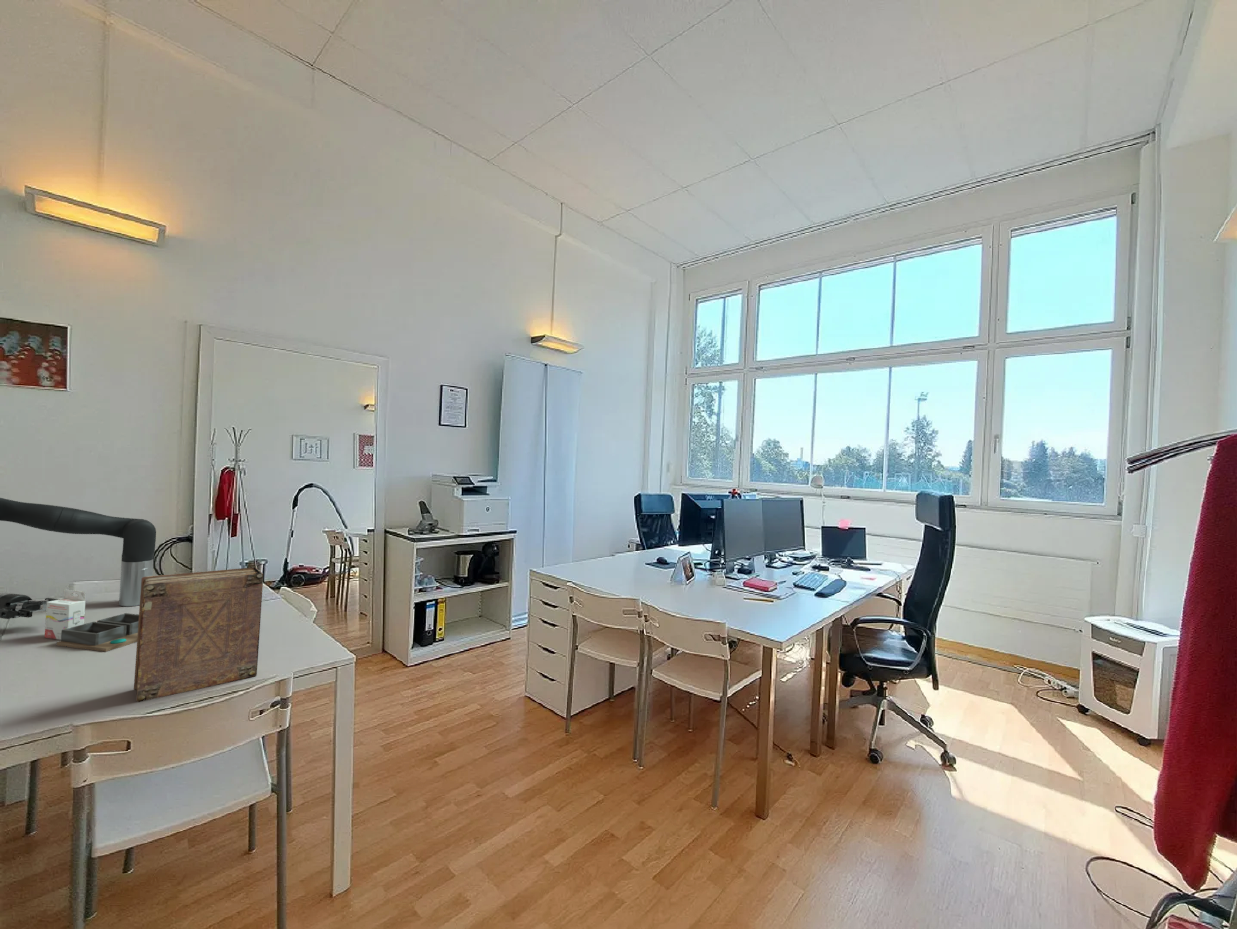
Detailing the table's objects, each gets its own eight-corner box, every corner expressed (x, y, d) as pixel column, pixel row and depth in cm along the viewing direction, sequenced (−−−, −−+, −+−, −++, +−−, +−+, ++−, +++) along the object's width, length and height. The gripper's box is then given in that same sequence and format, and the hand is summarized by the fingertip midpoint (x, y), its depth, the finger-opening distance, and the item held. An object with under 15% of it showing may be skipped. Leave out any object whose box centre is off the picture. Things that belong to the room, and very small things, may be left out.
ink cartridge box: (42, 638, 160) (45, 592, 160) (61, 633, 165) (64, 588, 165) (66, 640, 159) (69, 595, 159) (84, 635, 164) (87, 591, 164)
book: (135, 703, 125) (142, 584, 125) (133, 689, 132) (140, 577, 132) (257, 676, 144) (263, 573, 143) (250, 665, 150) (256, 566, 150)
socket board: (127, 625, 175) (128, 612, 175) (172, 630, 173) (172, 617, 173) (56, 645, 155) (57, 631, 155) (106, 651, 153) (107, 637, 153)
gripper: (-23, 599, 158) (20, 604, 156) (35, 588, 172) (75, 593, 170) (-24, 623, 158) (18, 628, 156) (34, 610, 172) (74, 615, 170)
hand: (48, 610), depth 163 cm, fingers open, 8 cm apart
